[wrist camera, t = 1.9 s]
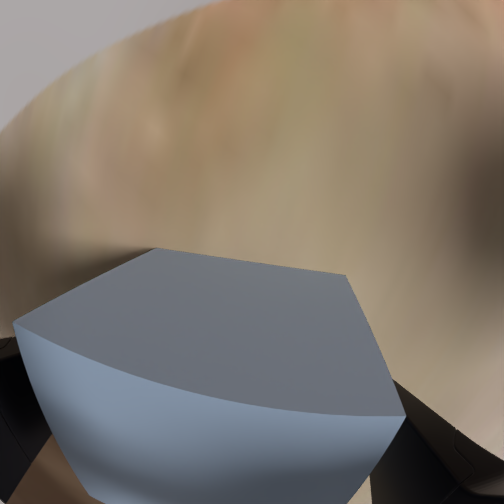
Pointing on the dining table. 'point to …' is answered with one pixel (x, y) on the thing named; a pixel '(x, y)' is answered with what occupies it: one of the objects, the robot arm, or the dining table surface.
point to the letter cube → (212, 383)
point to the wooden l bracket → (51, 480)
